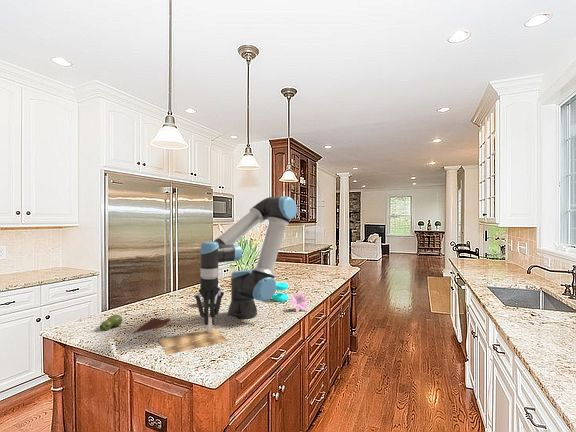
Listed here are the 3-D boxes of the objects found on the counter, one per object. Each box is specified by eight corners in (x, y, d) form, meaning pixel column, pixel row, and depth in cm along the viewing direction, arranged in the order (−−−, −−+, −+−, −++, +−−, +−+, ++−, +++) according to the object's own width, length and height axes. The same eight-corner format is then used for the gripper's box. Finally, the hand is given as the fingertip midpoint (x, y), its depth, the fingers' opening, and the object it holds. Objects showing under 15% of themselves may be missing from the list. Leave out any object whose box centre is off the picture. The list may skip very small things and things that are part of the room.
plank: (162, 350, 125) (162, 347, 125) (158, 342, 132) (158, 339, 132) (221, 337, 138) (221, 334, 138) (214, 330, 145) (214, 327, 145)
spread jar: (218, 307, 183) (218, 286, 183) (198, 307, 183) (198, 286, 183) (222, 301, 195) (222, 282, 195) (204, 301, 195) (204, 282, 195)
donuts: (286, 281, 205) (290, 285, 195) (286, 297, 205) (290, 301, 195) (270, 282, 202) (273, 285, 193) (270, 298, 203) (273, 302, 193)
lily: (284, 313, 175) (289, 300, 171) (286, 299, 186) (291, 286, 182) (305, 320, 176) (311, 307, 172) (306, 306, 186) (311, 293, 182)
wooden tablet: (152, 320, 162) (152, 317, 162) (171, 320, 162) (171, 317, 161) (121, 341, 136) (121, 337, 136) (144, 341, 135) (144, 337, 135)
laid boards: (222, 338, 138) (222, 335, 138) (228, 343, 132) (228, 340, 132) (162, 351, 125) (162, 347, 125) (167, 357, 119) (167, 354, 119)
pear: (123, 313, 153) (104, 323, 144) (125, 324, 154) (106, 334, 145) (116, 312, 155) (96, 321, 146) (117, 322, 156) (97, 332, 147)
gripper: (220, 274, 147) (220, 326, 147) (191, 277, 140) (191, 331, 140) (226, 277, 141) (226, 331, 141) (197, 280, 134) (196, 337, 134)
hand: (209, 331), depth 141 cm, fingers closed
